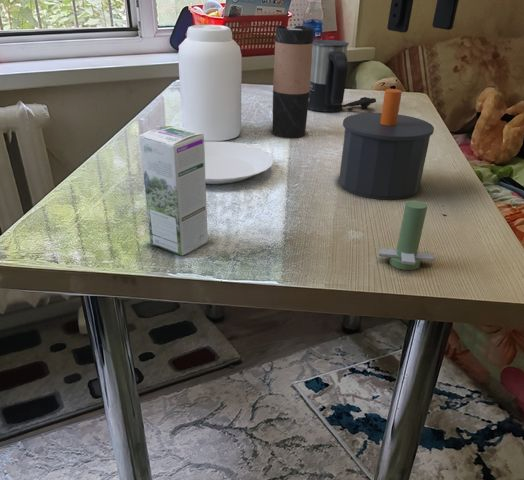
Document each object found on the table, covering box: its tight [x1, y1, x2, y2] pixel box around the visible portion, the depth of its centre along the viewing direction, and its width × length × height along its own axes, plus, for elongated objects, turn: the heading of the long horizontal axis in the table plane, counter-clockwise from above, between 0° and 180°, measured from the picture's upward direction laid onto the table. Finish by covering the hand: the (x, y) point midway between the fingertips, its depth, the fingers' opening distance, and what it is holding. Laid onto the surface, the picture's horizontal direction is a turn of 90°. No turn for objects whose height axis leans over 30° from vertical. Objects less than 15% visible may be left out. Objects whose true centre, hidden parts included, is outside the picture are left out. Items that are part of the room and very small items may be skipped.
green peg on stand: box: [378, 199, 435, 271], centre depth 69 cm, size 7×7×8 cm
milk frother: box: [308, 39, 377, 112], centre depth 134 cm, size 14×16×15 cm
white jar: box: [177, 24, 243, 142], centre depth 111 cm, size 12×12×20 cm
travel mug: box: [272, 25, 315, 139], centre depth 113 cm, size 8×8×20 cm
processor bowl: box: [338, 128, 431, 200], centre depth 92 cm, size 14×14×10 cm
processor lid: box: [342, 88, 435, 141], centre depth 88 cm, size 15×15×6 cm
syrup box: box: [139, 125, 209, 257], centre depth 69 cm, size 6×6×14 cm
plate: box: [204, 141, 275, 185], centre depth 97 cm, size 21×21×2 cm
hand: (420, 29), depth 77 cm, fingers open, 9 cm apart
